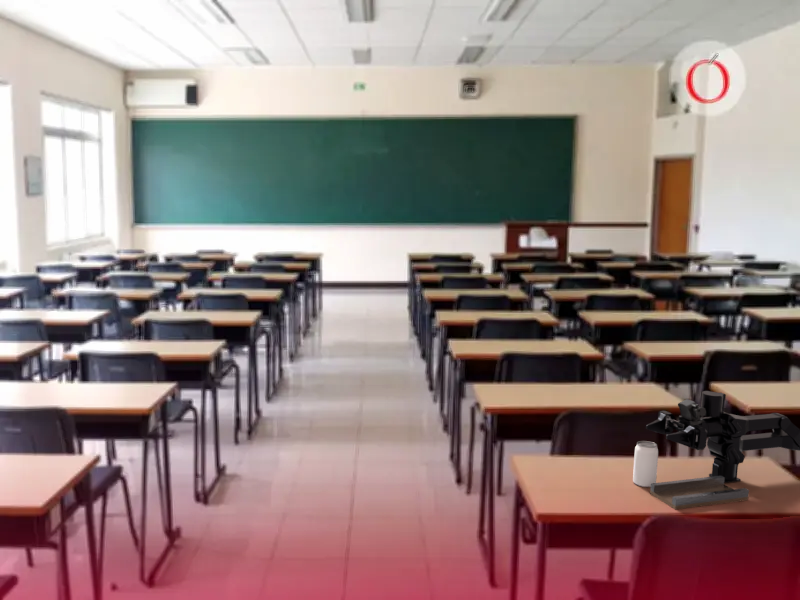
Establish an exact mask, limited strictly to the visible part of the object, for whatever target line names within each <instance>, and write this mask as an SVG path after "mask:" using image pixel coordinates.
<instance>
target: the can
mask: <svg viewBox="0 0 800 600" xmlns="http://www.w3.org/2000/svg"><path fill="white" fill-rule="evenodd" d="M658 460H659V449H658V444H657V443H655V442H653V441H647V440H640V441H637V442H636V446H635V447H634V457H633V471H632V472H633V473H632V483H633V484H634V485H636V486H639V487H643V488H651V483H657V477H658V476H657V474H658V463H659V462H658Z"/></svg>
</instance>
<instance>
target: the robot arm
mask: <svg viewBox="0 0 800 600" xmlns="http://www.w3.org/2000/svg"><path fill="white" fill-rule="evenodd" d="M726 396H727V394H725V393H723V392H717V391H710V390H704V391H701V401H700V402H701V403H700V404H697V402H695V401H693V400H691V399H689V398H686V399H685V400H682V401H681V402H678V403H677V407H678V409H679V413H680V415H678V420H675V415H674V414H673V413H671V412H669V411H666V410H659V411H657V413H658V414H657V419H656V420H654V421H652V422H650V423H647V424H646V426H645V429H646V430H649V431H652V432H655V433H659V434H662V435H666V437H665V438H666V440H668V441H671V442H675V443H677V444H680V445H683V446H685V447H688V448H691V449H694V450H695V451H696V450H697V451H703V450H704V449H705V448H706V447H707V448H708V451H709V454H710V455H711V456H713V463H712V468H711V473H708V477H713V476H723V477H725V479H724V484H725V483H726V484H727V483H737V482H741V481H742V479H741V478H739V477H738V469H739V468H738V467H739V465H740V464H743V463H744V460H745V458H746V455H744V453H743V452H749V451H757V450H766V449H767V450H768V449H775V448H778V449H779V448H783V449H786V450H790V451H797V452H798V451H800V428H799V427H798V426H796V424H794V423H793V422H792V421H791V419H790V418H788V416H787V415H784V414H780V413H778V412H772V413H767V414H755V415H754V414H753V415H745V416H744V415H738V414H737V415H736V414H733V413H728V412H725V404H726V403H725V401H726V398H727V397H726ZM699 405H700V406H699ZM704 416H705V417H704ZM674 430H675V431H676V432H673V431H674ZM765 430H766V431H767V430H772V432H765V433H764V432H763V433H756V434H755V433H754V434H747V433H748V432H755V431H765Z"/></svg>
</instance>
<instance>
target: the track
mask: <svg viewBox="0 0 800 600" xmlns="http://www.w3.org/2000/svg"><path fill="white" fill-rule="evenodd" d="M724 479H725V477H723V476H713V477H711V476H704V477H697V478H696V477H695V478H687V479H677V480H671V481H662V482H661V481H660V482H656V483H651V487H650V490H649V491H650V495H651V496H654V497H655V498H657V499H658V500H660V501H661V502H663V503H664V504H665V505H668V506H669V507H671V508H672V509H674V510H682V509H691V508H698V507H699V508H700V507H704V506H705V507H707V506H713V505H721V504H729V503H737V502H743V501H749V494H750V493H749V492H750V489H748V488H746V487H743V488H742V487H741V488H732V487H730V486H729V485H727V484H725V483H724Z"/></svg>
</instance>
